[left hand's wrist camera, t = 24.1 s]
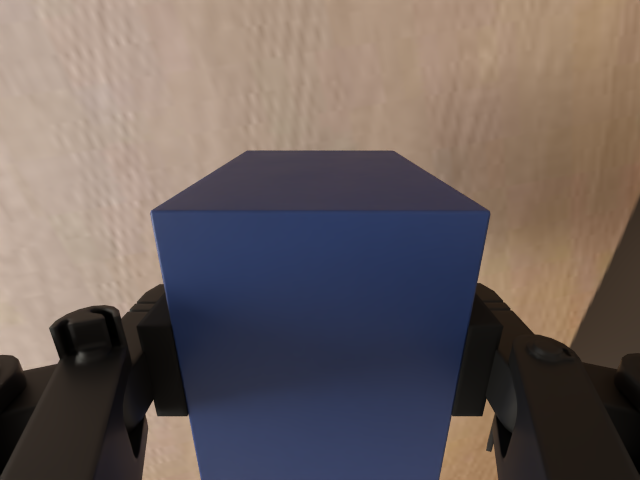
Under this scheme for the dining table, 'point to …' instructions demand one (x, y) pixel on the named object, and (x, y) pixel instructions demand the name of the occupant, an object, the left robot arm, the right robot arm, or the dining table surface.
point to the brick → (320, 313)
